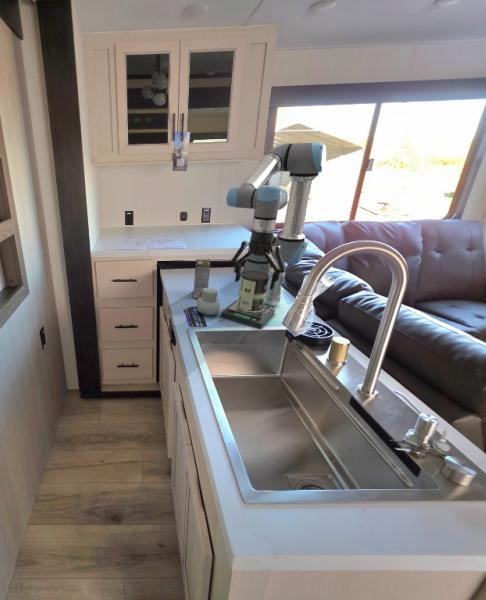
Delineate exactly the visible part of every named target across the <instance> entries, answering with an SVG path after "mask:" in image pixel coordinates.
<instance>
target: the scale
mask: <svg viewBox="0 0 486 600" xmlns="http://www.w3.org/2000/svg"><path fill="white" fill-rule="evenodd" d="M237 301H238V299H236V300H235V301H233V302H232V303H230V304H229V305H228V306H227V307H226V308H225V309H224V310H222V311H221V313H220V318H224V319H227V320H230V321H233V322H236V323H240V324H243V325H246V326H250V327H254V328H257V329H259V330H260V329H262V328H263V327H265V325H266V324H267V323H268V321H269V320H270V319H272V317H273V316H274V315H275V311H276V309H273V308H271V309H270V310H269V311H268V313H267V314H266V315H265V316H264V317H263V318H262V319H261V320H259V319H255V318H252V317H249V316H245V315H242V314H238V313H234V312H231V311H228V308H230V307H231V306H232V305H233V304H234V303H236V302H237Z"/></svg>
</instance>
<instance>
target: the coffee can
mask: <svg viewBox="0 0 486 600" xmlns="http://www.w3.org/2000/svg"><path fill="white" fill-rule="evenodd" d="M268 280H269V275H268V274H266V273H263V272H259V271H244V272H242V273H240V281H239V287H238V288H239V289H238V296H237V300H238V302H237V307H238V308H239V309H240V310H242V311H245V312H251V313H258V312H261V311H263V307H264V305H265V302H264V301H265V296H266V291H267V286H268Z"/></svg>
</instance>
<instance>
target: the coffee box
mask: <svg viewBox="0 0 486 600" xmlns="http://www.w3.org/2000/svg"><path fill="white" fill-rule="evenodd" d="M194 267H195V269H194V279H193V294H192V295H193V296H192V298H193V299H197V300H198V299H199V298H201V297H202V290H203V289H204V288H209V282H210V275H211V260H210V259H195V266H194Z"/></svg>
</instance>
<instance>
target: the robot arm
mask: <svg viewBox="0 0 486 600" xmlns="http://www.w3.org/2000/svg"><path fill="white" fill-rule="evenodd" d="M326 158H327V148H326V144H325V143H323V142H314V141H311V142H293V143H289V142H288V143H284V144H280V145H278V146H276V147H274V148H272V149H270V150H269V151H268V152H265V154H264V155H263V156H262V157H261V158H260V159H259V162H258V165H257V166H256V168H254V170H253V171H252V172H251V173H250V174H249V176H248V177H247V178H246V179H245V180H244V181H243V183H241V185H240V186H239V187H237V186H236V187H231V188H229V189H228V191H227V194H226V204H227V206H228V207H230V208H238V209H250V210H251V209H252V210H255V211H254V216H253V222H252V230H251V236H250V238H249V241H247V240H243V241H242V242H241V244H240V247H239V248H238V249H237V251H236V253H235V254H234V255H233V257H232V259H230V263H231V264H233V265H234V269H233V272H234V274H235V278H234V279H235V280H234V281H235V283H237V282H240V281H241V273H242V272H244V271H259V272H263V273H266V274H268V273H269V270H270V268H271V267H272V268H273V269H274V271H275V272H274V273H273V276H272V281H271V286H270V289H271V290H272V289H273V288H274V286H275V281H278V280H279V276H280V273H284V272H285V273H286V271H287V267H286V264H293V265H294V264H296V265H297V264H299V263H300V262H301V260H302V259H303V257H304V255H305V252H306V250H307V248H308V241H307V240H305V239H306V236H305V234H303V233H304V227H305V222H306V217H307V213H308V209H309V208H308V207H309V203H310V199H311V194H312V189H313V184H314V181H315V180H316V179H317V178H318V177H319V174H320V173H323V171H324V170H325V166H326V161H327V159H326ZM278 172H279V173H280V172H285V173H287V172H288V173H289V174H288V175H289V176H288V177H289V178H290V179H291V184H290V188H289V192H288V191H287V190H286V189H283V188H282V186H280V185H274V184H273V185H272V184H271V185H270V184H268V185H267V183H268V181H269V180H270V179H271V178H272V176H274V175H276V174H277V173H278ZM285 207H286V211H285V212H286V213H285V218H284V223H283V228H282V231H281V232H280V233H279V234H278V236H276V234H275V232H274V231H275V230H276V225H277V217H278V212H279V211H280V210H283V209H284V208H285ZM247 247H248V248H247ZM246 248H247V252H246V253H245V254H244V255H243V256H241V254H242V253H243V252H244V250H245V249H246ZM240 256H241V257H240ZM239 257H240V258H239ZM275 259H277V261H278V264H279V266H278V265H277V263H276V261H275ZM245 260H246V261H245ZM244 261H245V263H244V265H243V267H242V264H241V263H242V262H244ZM285 263H286V264H285ZM279 267H280V268H279Z"/></svg>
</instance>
